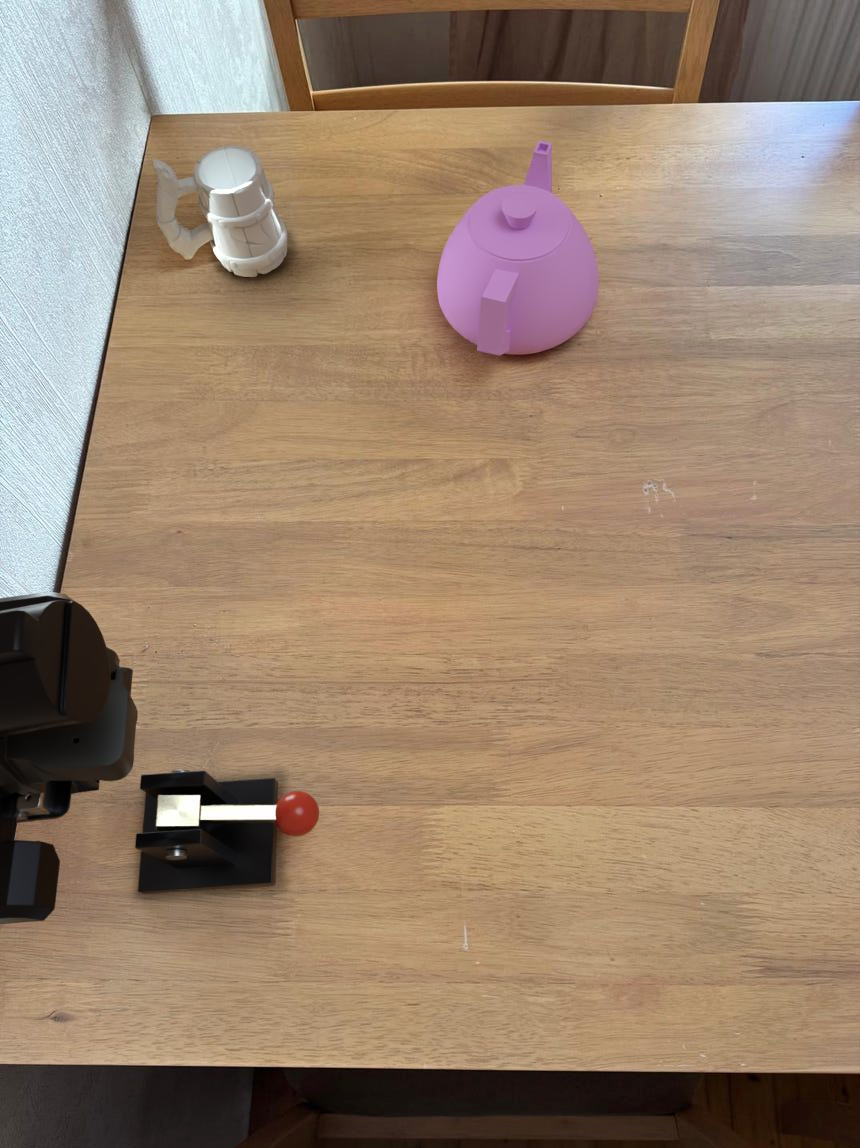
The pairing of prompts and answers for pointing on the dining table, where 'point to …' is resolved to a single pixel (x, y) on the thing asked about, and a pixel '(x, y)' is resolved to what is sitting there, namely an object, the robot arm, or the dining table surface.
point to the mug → (225, 211)
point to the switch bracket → (206, 837)
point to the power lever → (238, 813)
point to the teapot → (519, 268)
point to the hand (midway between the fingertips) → (92, 784)
